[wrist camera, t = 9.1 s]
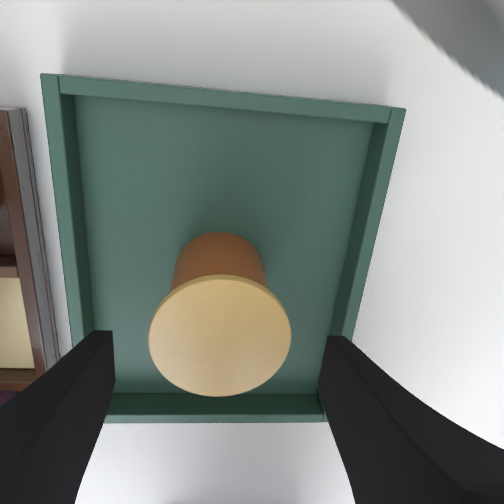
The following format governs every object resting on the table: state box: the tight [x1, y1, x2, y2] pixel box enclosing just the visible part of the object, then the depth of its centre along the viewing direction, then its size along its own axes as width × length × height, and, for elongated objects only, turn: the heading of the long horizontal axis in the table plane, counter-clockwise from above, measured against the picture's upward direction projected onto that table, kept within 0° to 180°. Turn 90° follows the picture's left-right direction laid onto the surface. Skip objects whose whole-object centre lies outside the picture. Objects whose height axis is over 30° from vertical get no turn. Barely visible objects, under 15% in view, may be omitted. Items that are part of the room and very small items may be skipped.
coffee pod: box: [148, 232, 291, 397], centre depth 16 cm, size 5×5×5 cm
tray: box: [40, 73, 406, 423], centre depth 18 cm, size 13×16×2 cm
